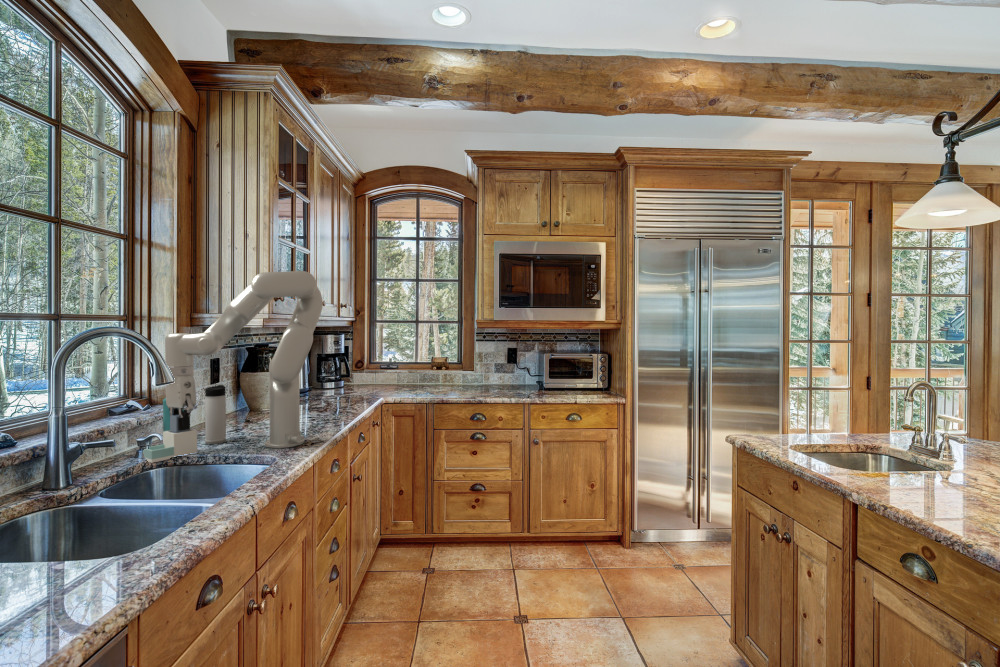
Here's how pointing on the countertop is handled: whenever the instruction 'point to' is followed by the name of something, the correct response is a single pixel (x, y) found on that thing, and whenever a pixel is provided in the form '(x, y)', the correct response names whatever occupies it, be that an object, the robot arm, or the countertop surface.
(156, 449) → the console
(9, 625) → the countertop surface
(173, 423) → the grey rectangular block
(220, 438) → the travel mug
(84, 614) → the countertop surface
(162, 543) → the countertop surface
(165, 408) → the beverage bottle
